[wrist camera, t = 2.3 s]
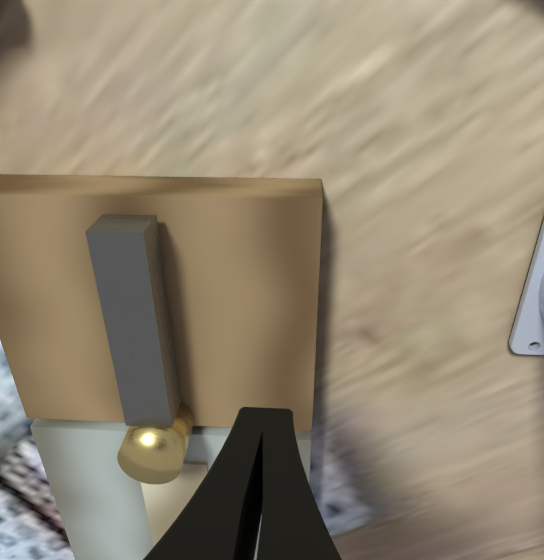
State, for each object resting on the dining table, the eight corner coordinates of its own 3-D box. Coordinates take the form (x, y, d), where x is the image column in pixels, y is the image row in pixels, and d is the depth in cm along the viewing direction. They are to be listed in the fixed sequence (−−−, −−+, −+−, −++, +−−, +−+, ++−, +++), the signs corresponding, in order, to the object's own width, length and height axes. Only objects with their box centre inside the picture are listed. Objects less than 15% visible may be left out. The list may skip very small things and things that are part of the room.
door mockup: (321, 179, 20) (324, 224, 15) (304, 541, 31) (304, 624, 27) (-12, 174, 20) (-94, 216, 16) (93, 528, 32) (61, 606, 28)
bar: (196, 440, 24) (184, 486, 21) (140, 438, 24) (122, 482, 22) (170, 211, 18) (150, 240, 16) (96, 209, 18) (65, 238, 16)
